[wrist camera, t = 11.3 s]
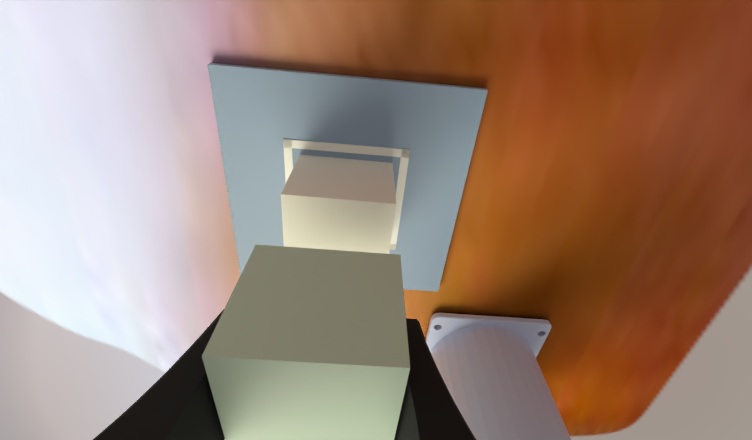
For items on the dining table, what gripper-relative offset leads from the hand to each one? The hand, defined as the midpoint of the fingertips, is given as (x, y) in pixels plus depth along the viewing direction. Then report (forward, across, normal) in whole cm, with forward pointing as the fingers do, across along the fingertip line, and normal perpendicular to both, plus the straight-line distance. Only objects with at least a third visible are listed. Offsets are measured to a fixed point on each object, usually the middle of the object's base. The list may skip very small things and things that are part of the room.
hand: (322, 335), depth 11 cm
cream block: (+9, 0, 0) cm, 9 cm away
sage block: (+1, 0, 0) cm, 1 cm away
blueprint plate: (+9, 0, 0) cm, 9 cm away
